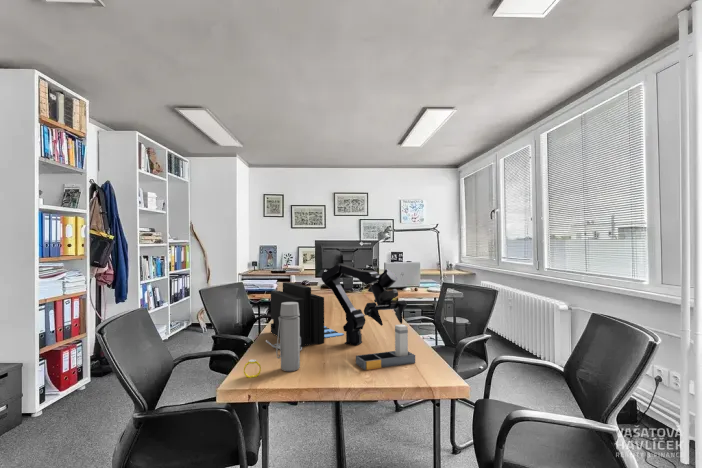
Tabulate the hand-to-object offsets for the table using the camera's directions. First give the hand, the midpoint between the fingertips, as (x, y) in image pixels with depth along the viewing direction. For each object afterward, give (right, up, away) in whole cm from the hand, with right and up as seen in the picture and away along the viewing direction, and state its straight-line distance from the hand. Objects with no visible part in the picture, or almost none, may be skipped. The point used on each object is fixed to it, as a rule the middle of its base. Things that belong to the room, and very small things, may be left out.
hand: (391, 324), depth 162 cm
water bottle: (-41, -14, -15) cm, 46 cm away
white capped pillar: (+3, -13, -8) cm, 15 cm away
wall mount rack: (-47, -14, +11) cm, 50 cm away
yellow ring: (-53, -14, -23) cm, 59 cm away
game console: (-38, -15, +37) cm, 55 cm away
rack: (-4, -13, -10) cm, 17 cm away
